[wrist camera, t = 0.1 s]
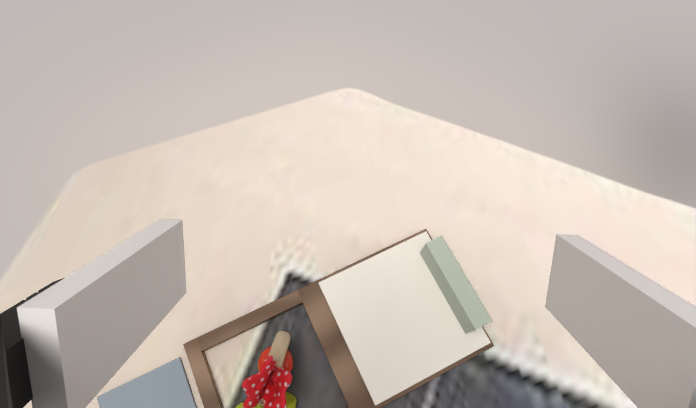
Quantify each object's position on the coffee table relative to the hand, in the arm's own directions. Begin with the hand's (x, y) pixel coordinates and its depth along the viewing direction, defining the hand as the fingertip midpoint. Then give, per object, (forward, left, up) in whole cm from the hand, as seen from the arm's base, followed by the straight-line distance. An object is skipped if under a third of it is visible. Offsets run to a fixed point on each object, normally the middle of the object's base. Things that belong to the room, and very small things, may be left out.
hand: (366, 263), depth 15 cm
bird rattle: (0, +9, -36) cm, 37 cm away
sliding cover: (0, -6, -34) cm, 35 cm away
